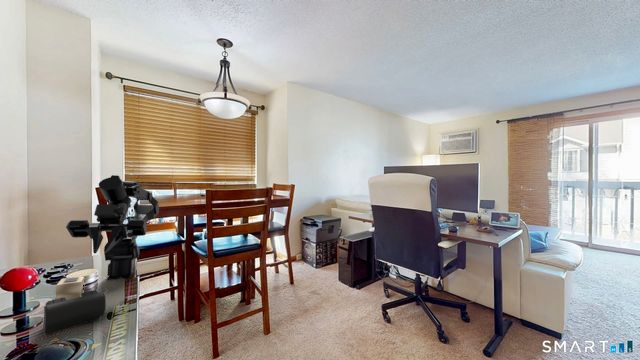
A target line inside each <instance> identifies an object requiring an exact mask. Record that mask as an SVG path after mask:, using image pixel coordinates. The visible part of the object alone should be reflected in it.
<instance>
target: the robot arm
mask: <svg viewBox="0 0 640 360" xmlns="http://www.w3.org/2000/svg"><path fill="white" fill-rule="evenodd" d="M98 188H99V190H100V192H101V194H102V196H103V198H104V200H106V201H108V203H107V204H102V203H100V204H99V203H98V204H96V206H95V209H94V214H93V215H94V216H96V221H97V222H89V221H88V219H73V220H69V222H67V224H66V226H65V228H66V229H67V231H68V233H69V235H70V236H71V237H72V238H79V239H80V238H87V237H89V238H90V240H92V251H93V253H94V254H97V253H98V252H99V249H100V247H101V245H102V242H103V239H104V236H103V234H102V233H103V232H111V233H110V235H109V238H108V240H107V242H106V243H105V245H104V248H103V253H104V260H105V262H106V261H108V262H109V263H108V265H107V280H112V279H114V280H115V279H116V280H117V279H125V278H130V277H132V275H133V274H134V273H135V269H134V266H135V265H134V264H135V259H138V258H139V256H140V248H139V246H138V244H137V237H138V236H139V237H141V236H142V237H143V236H144V237H145V235H146V234H147V230H148V229H147V223H148V222H149V221H151V220H153V219H154V218H156V217H157V215H158V214H159V213H160V207H159V201H158V200H157V199H156V198H155V197H154V196H153V192H152V191H150V190H146V189H144V188H142V187H141V184H140V183H139V182H138V181H130V180H129V181H125V180H122V179H121V177H120V175H113V174H112V175H111V176H110V177H106V178H104V179H102V180H100V181H99V183H98ZM131 198H132V199H135V200H136V201H135V203H134V205H133V207H132V208H133V211H134V213H135V214H134V215H135V216H134V217H133V218H132V219H130V220H129V221H128V223H124V222H125V221H126V220H127V214H128V211H129V208H131V206H132V204H131V203H132V199H131ZM139 201H148V202H149V203H139Z"/></svg>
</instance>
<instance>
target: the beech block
mask: <svg viewBox="0 0 640 360" xmlns="http://www.w3.org/2000/svg"><path fill="white" fill-rule="evenodd" d="M76 277H77V278H76ZM83 284H84V277H80V276H75V277H74V276H71V277H64V278H61V279H60V280H59V282H58V283H57V284H56V286H55V299H59V298H61V297H62V298H63V297H65V299H66V300H70V299H74V298H78V297H82V296H81V293H84V292H85V289H84V290H83ZM84 285H85V284H84Z"/></svg>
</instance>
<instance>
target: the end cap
mask: <svg viewBox="0 0 640 360" xmlns="http://www.w3.org/2000/svg"><path fill="white" fill-rule="evenodd" d="M106 302H107V300H106V295H105V292H104V291H99V292H98V290H96V289H93V290H89V291H84V293H81V297H78V298H74V299H70V300H66V299H65V297H63V298H62V297H61V298H59V299H56V298H55V299H53V298H52V300H48V301H47V302H46V303H45V306H44V307H43V308H44V309H43V310H44V311H43V323H42V325H43V326H42V333H43V334H44V335H46V336H49V335H52V334H54V333H58V332H61V331H64V330H67V329H72V328H74V327H77V326H81V325H83V324H87V323H91V322H94V321H97V320H100V318H102V317H103V316H104V315H105V313H106V309H107V307H106V304H107V303H106Z"/></svg>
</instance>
